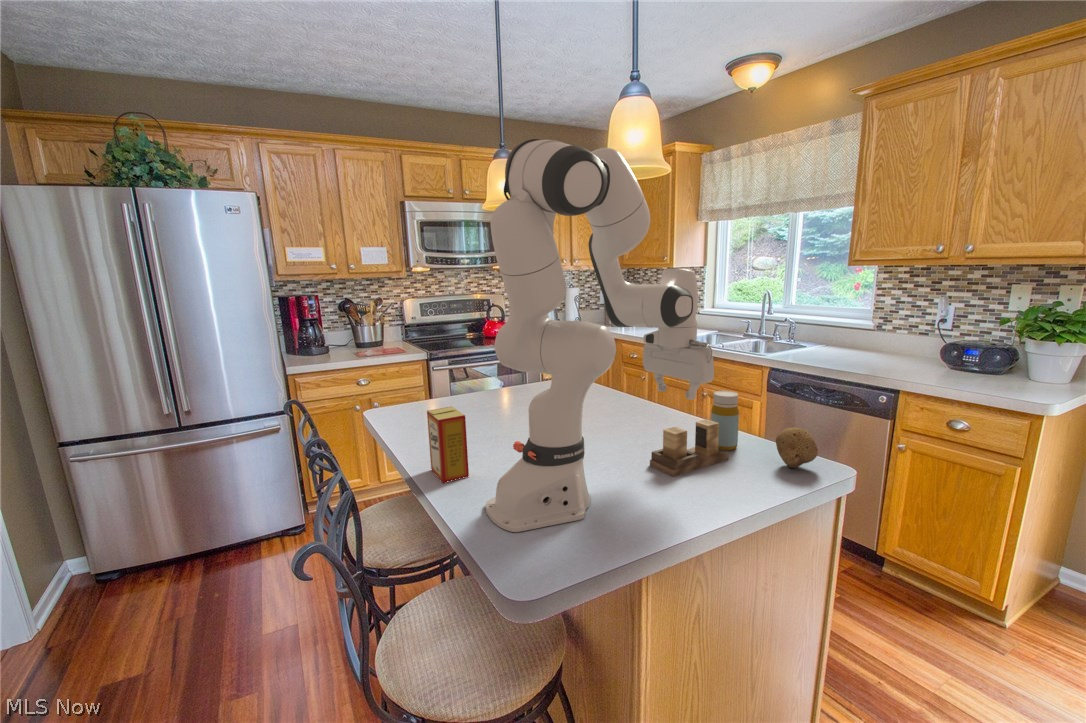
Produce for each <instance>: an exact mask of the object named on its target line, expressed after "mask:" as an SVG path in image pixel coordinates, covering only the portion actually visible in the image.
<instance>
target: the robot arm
mask: <svg viewBox="0 0 1086 723" xmlns="http://www.w3.org/2000/svg"><path fill="white" fill-rule="evenodd" d="M504 168H505V169H504V180H505V181H504V186H503V195H504V196H505V199H506V201H505V200H504V202H502V203H501V204H499V205H497V207H496V208H495V209H494V211H493V212H492V213H491V217H490V232H491V238H492V239H491V240H492V245H493V249H494V254H495V259H496V262H497V266H498V269H499V272H500V275H501V278H502V282H503V285H504V288H505V292H506V295H507V299H508V307H509V314H508V317H507V320H506V322H505V323H504V324H503V325H502V326H501V327H500V329H498V332H497V334H496V337H495V339H494V341H495V342H494V352H495V356H496V357H497V360H498V361H499V363H500V364H501V365H502V366H503V367H506V368H509V369H512V370H515V371H518V372H521V373H530V374H531V373H533V374H544V375H551V384H550V387H549V388H548V389H545V390H542V391H541V392H539V393H538V394H537V395H535V396H533V398H532V399H531V401H530V403H529V404H528V432H529V433H528V434H529V435H528V436H529V437H528V439H527V440H526V443H525V444H524V443H522V442H521V441H519V440H517V441H514V444H512V449H514V451H516V452H517V453H522V455H521V456H522V457H521V458H520V459H519V460H518V461H517V462H516V463H515V464H513V466H511V467H510V469H509V470H507V472H505V473H504V474H503V475H502V476H501V477H500V478H499V479H498V482H497V484H496V488H495V490H496V491H495V496H494V497H493V498H490V499H488V500H486V502H485V513H486V514H487V517H488V518H489V519H490V520H491V521H492V522H493V523H494V524H496V526H498V527H499V528H501V529H503V530H506V531H508V532H512V533H519V532H524V531H529V530H530V531H531V530H535V529H540V528H545V527H549V526H556V525H559V524H560V525H561V524H565V523H570V522H575V521H581V520H584V519H585V517H586V510H587V509H588V508H589V506H590V505H591V500H592V499H591V496H590V493H589V489H588V486H587V480H586V476H585V466H584V458H585V438H584V437H583V411H584V410H583V408H584V402H585V398H586V396H587V394H588V391H589V389H590V388H591V386H592V385H593V384H594V382H595V381H596V380H597V379H599V378H600V377H601V376H602V375H604V374H605V373H606V372H608V370H610V368H611V366H612V365H613V364H614V361H615V357H616V353H617V344H616V341H615V340H616V339H615V337H614V335H613V333H612V332H611V330H610V329H609V328H608V327H607V326H605V325H601V324H598V323H595V322H591V321H586V320H585V321H584V320H555V319H552V318H551V317H550V313H551V312H553V311H554V310H556V308H558V307H559V306H560V305H561V304H562V303H563V301H564V299H565V297H566V295H567V283H566V279H565V275H564V271H563V267H562V266H563V265H562V262H561V258H560V254H559V250H558V246H557V243H556V239H555V237H554V234H555V233H554V223H555V220H556V219H555V218H556V215H557V214H558V215H561V216H566V217H573V216H574V217H575V216H579V215H584V214H585V217H586V218H587V221H588V222H589V225H590V227H591V231H592V233H591V234H590V237H589V239H588V252H589V256H590V260H591V263H592V267H593V270H594V273H595V275H596V278H597V279H596V280H597V282H598V284H599V288H600V290H601V293H602V294H601V295H602V297H603V302H604V311H605V314H606V316H607V318H608V319H609V321H610V322H611V323H612V325H613V326H615V327H618V328H633V327H634V328H635V327H636V328H637V327H638V328H657V330H655V331H652V332H649V333H645V334H644V335H643V343H645V344H644V346H643V350H642V367H643V369H644V371H646V372H649V373H653V375H654V376H653V377H654V380H655V382H656V385H657V386H656V387H657V392H661V393H664V392H665V393H666V391H667V390H668V389H667V388H668V384H667V383H665V380H664V377H665V376H667V377H671V378H675V379H680V380H685V381H688V385H689V387H690V388H689V389H688V390H687V391H685V399H687V400H691V401H693V400H696V397H697V396H696V395H697V391H698V390H699V388H700V386H701V385H702V384H709V383H712V382H713V380H714V379H715V364H714V363H715V362H714V357H713V348H712V347H711V345H710V344H708V342H707V341H699V340H698V338H697V336H698V323H697V318H696V317H697V311H698V308H699V293H698V292H699V290H698V279H697V275H696V272H695V271H693V270H691V269H689V268H682V267H681V268H680V267H671V268H665V269H664V270H663V271H662V273H661V277H660V280H659V281H657V282H656V283H653V284H652V283H651V284H650V283H648V284H647V283H646V284H643V283H642V284H636V283H631V282H628V281H626V280H625V279H624V276H623V272H622V268H621V265H620V261H619V258H618V257H621V256H624V255H625V254H628V253H629V252H631V251H633V250H634V249H635V248H636V247H637V246H639V245H640V244H641V243H642V242H643V240H645V239H644V238H645V237H646V236H647V234H648V232H649V229H650V225H651V212H650V208H649V206H648V202H647V201H646V197H645V196H644V192H643V190H642V188H641V186H640V184H639V182H638V180H637V178H636V176H635V174H634V173H633V171H632V169H631V167H630V165H629V164H628V162H627V161H626V160H625V158H624V157H623V155H622V154H621V153H620V152H619V151H618V150H616V149H614V148H610V147H601V148H597V149H595V150H592V151H591V150H589V149H587V148H585V147H583V146H580V145H574V144H573V145H571V144H568V143H565V142H563V141H560V140H554V139H540V138H539V139H538V138H533V139H528V140H524V141H523V142H520V143H518V144H517V145H515V147H513V149H512V150H511V151H510V152H509V154H508V157H507V158H506V162H505V167H504Z"/></svg>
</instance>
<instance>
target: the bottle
mask: <svg viewBox="0 0 1086 723" xmlns="http://www.w3.org/2000/svg"><path fill="white" fill-rule="evenodd" d="M712 399H713V403H712V404H713V405H712V407H711V411H710V412H711V413H710V420H711V421H714V422H717V423H719V439H718V450H719V451H725V452H727V451H728V452H729V451H734V450H736V448H738V442H739V441H738V440H739V422H740V420H739V418H740V410H739V407H738V402H739V393H738V392H736V391H730V390H718V391H713V398H712Z"/></svg>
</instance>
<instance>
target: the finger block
mask: <svg viewBox="0 0 1086 723" xmlns="http://www.w3.org/2000/svg"><path fill="white" fill-rule="evenodd" d="M662 431H663V432H662V434H663V435H662V449H663V455H665V456H667V457H669V458H671V459H674V460H676V459H680V458H683V457H687V449H688V430H685V429H683V428H680V427H678V426H674V427H669V428H665V429H663V430H662Z"/></svg>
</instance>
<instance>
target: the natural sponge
mask: <svg viewBox="0 0 1086 723" xmlns="http://www.w3.org/2000/svg"><path fill="white" fill-rule="evenodd" d="M775 444H776V449H777V453H778V455H779V457H780V459H781V460H782V462H784V464H785V465H786V466H788V468H798V467H800V466H802V465H803V464H809V463H810V462H813V461H814V460H815V459H816V458H817V457H818V454H819V448H818V445H817V443H816V441H815V439H814V437H813V436H812V435H811V433H809V431H807V430H806V429H804V428H801V427H797V426H795V427H788V428H785V429H782V430H781V431H780V432H779V433H778V434H777V435H776V437H775Z"/></svg>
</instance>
